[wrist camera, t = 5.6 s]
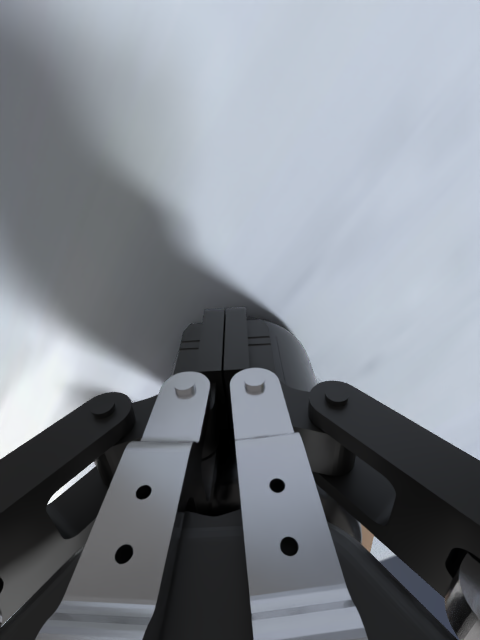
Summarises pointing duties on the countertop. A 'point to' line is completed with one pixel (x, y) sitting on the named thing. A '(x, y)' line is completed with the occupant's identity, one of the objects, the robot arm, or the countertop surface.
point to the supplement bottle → (226, 498)
